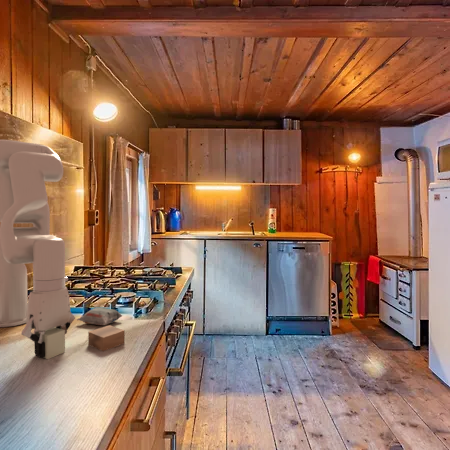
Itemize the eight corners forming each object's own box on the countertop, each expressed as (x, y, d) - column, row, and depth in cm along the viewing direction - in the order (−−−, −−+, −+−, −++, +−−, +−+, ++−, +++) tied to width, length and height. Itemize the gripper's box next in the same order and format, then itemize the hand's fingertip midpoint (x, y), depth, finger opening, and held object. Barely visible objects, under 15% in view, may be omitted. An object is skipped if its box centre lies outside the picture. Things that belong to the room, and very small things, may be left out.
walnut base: (88, 345, 98) (88, 331, 97) (109, 338, 103) (109, 325, 103) (103, 352, 93) (103, 337, 93) (124, 344, 99) (124, 330, 99)
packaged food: (106, 330, 110) (106, 314, 109) (76, 325, 113) (76, 310, 113) (122, 322, 118) (122, 307, 118) (94, 318, 122) (94, 304, 121)
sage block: (35, 355, 90) (35, 332, 90) (52, 348, 95) (52, 326, 94) (47, 359, 88) (47, 336, 88) (64, 352, 92) (64, 330, 92)
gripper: (68, 277, 100) (68, 339, 101) (8, 289, 85) (9, 361, 86) (86, 280, 96) (86, 344, 97) (26, 293, 81) (28, 368, 82)
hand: (50, 351), depth 91 cm, fingers closed on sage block, 5 cm apart
